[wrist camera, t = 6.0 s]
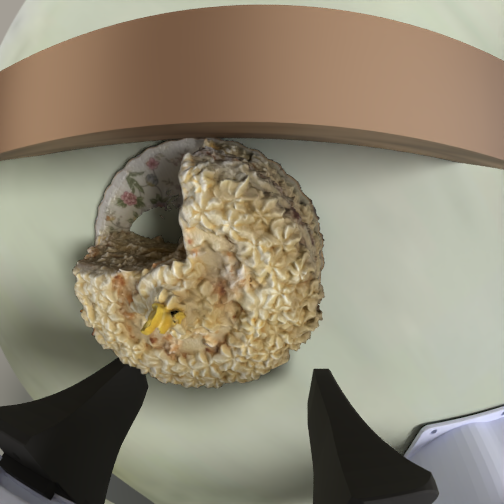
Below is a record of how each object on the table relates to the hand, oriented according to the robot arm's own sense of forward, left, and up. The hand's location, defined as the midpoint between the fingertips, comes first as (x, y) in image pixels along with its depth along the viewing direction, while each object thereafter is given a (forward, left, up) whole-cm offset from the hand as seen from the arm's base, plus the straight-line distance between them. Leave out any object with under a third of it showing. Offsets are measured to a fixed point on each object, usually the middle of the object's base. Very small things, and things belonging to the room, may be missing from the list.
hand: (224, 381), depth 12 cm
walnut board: (0, -11, -2) cm, 11 cm away
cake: (+1, -5, -2) cm, 5 cm away
